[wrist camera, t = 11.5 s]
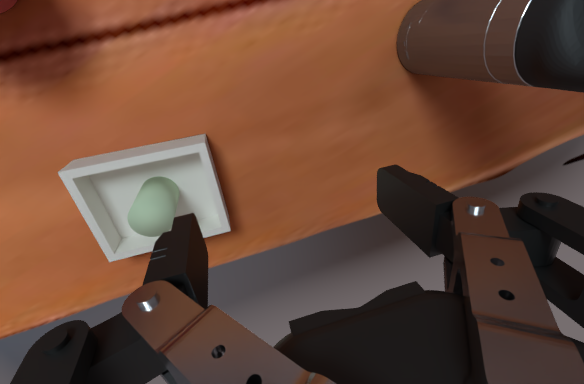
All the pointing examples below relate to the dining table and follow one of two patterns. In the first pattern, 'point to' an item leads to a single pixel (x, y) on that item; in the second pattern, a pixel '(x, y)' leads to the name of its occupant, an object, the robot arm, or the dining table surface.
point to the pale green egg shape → (154, 207)
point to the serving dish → (128, 181)
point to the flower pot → (6, 5)
